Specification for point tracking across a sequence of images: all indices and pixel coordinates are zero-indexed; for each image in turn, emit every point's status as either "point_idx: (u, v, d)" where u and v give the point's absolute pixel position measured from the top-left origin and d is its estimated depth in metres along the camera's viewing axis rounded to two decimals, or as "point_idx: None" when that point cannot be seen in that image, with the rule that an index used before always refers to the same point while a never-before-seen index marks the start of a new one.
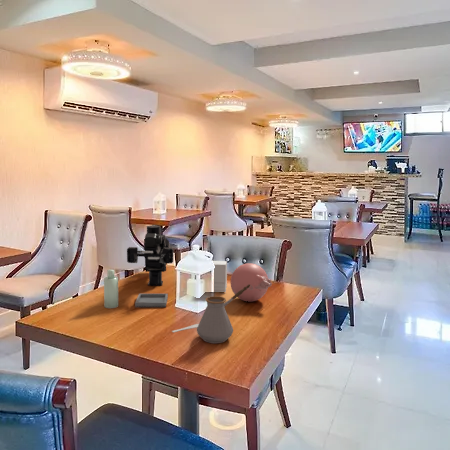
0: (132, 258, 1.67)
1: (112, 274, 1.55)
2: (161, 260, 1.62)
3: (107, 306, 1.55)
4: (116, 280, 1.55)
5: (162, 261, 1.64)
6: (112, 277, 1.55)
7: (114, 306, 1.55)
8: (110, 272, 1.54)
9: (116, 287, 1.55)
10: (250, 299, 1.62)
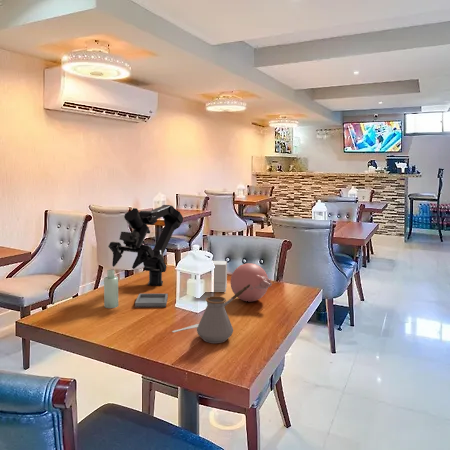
0: None
1: (112, 274, 1.55)
2: (136, 265, 1.62)
3: (107, 306, 1.55)
4: (116, 280, 1.55)
5: (138, 264, 1.63)
6: (112, 277, 1.55)
7: (114, 306, 1.55)
8: (110, 272, 1.54)
9: (116, 287, 1.55)
10: (250, 299, 1.62)
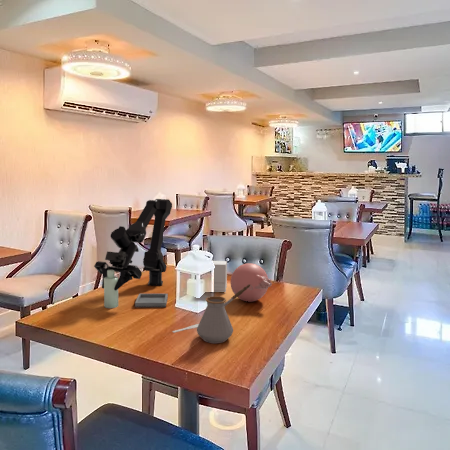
0: None
1: (112, 274, 1.54)
2: (118, 286, 1.55)
3: (107, 306, 1.55)
4: (116, 280, 1.55)
5: (121, 285, 1.56)
6: (112, 277, 1.55)
7: (114, 306, 1.55)
8: (110, 272, 1.54)
9: None
10: (250, 299, 1.62)
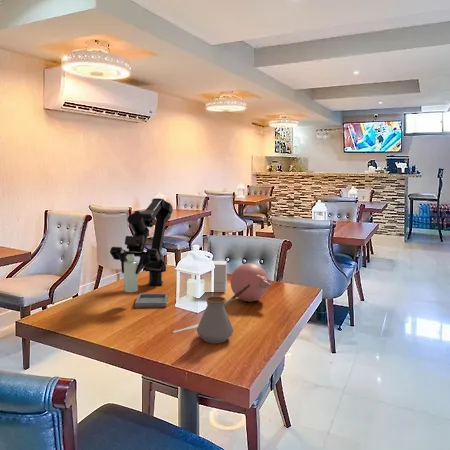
0: None
1: (133, 258, 1.55)
2: (139, 270, 1.56)
3: (129, 290, 1.55)
4: (137, 264, 1.56)
5: (141, 269, 1.57)
6: (132, 261, 1.56)
7: (135, 290, 1.56)
8: (131, 256, 1.55)
9: None
10: (250, 299, 1.62)
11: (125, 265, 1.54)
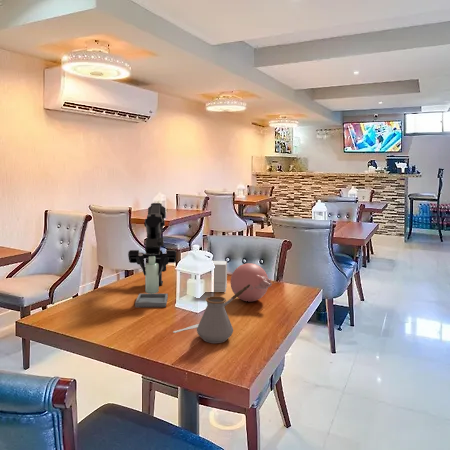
0: (139, 262, 1.63)
1: (154, 260, 1.60)
2: (160, 271, 1.61)
3: (152, 291, 1.59)
4: (158, 265, 1.61)
5: (161, 270, 1.62)
6: (154, 263, 1.60)
7: (157, 291, 1.61)
8: (153, 258, 1.59)
9: (158, 272, 1.61)
10: (250, 299, 1.62)
11: (148, 267, 1.58)
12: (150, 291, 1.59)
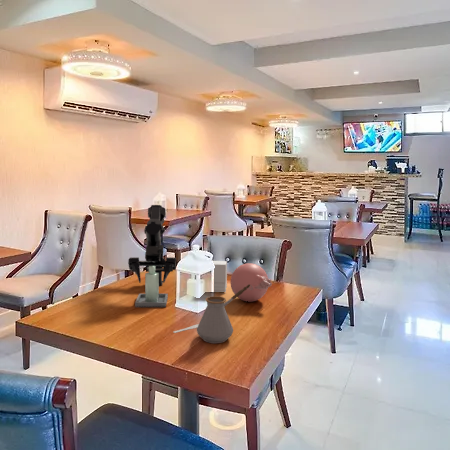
0: (134, 269, 1.64)
1: (154, 270, 1.60)
2: (165, 279, 1.61)
3: (152, 301, 1.60)
4: (158, 275, 1.61)
5: (166, 277, 1.63)
6: (154, 272, 1.60)
7: (157, 300, 1.61)
8: (153, 268, 1.59)
9: (158, 282, 1.61)
10: (250, 299, 1.62)
11: (148, 277, 1.59)
12: (150, 300, 1.60)
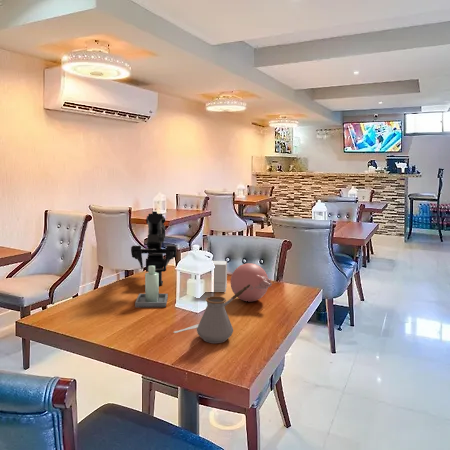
0: (137, 256, 1.73)
1: (154, 269, 1.60)
2: (166, 265, 1.70)
3: (152, 300, 1.60)
4: (158, 275, 1.61)
5: None
6: (154, 272, 1.60)
7: (157, 300, 1.61)
8: (153, 268, 1.59)
9: (158, 282, 1.61)
10: (250, 299, 1.62)
11: (148, 277, 1.59)
12: (150, 300, 1.60)
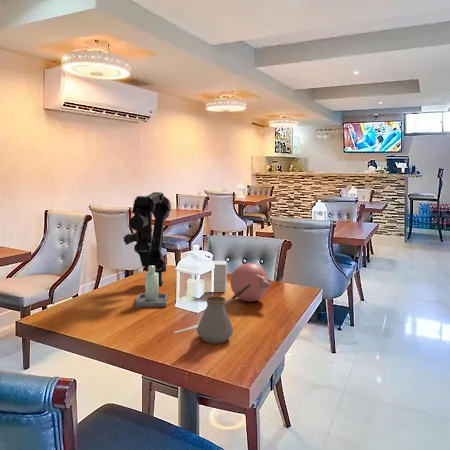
0: None
1: (154, 269, 1.60)
2: (144, 262, 1.66)
3: (152, 300, 1.60)
4: (158, 275, 1.61)
5: (145, 260, 1.65)
6: (154, 272, 1.60)
7: (157, 300, 1.61)
8: (153, 268, 1.60)
9: (158, 281, 1.61)
10: (250, 299, 1.62)
11: (148, 277, 1.59)
12: (150, 300, 1.60)
